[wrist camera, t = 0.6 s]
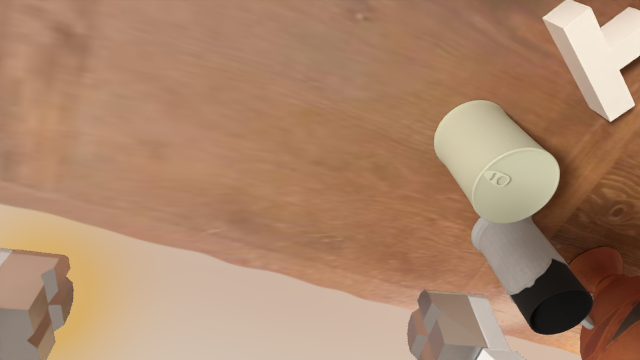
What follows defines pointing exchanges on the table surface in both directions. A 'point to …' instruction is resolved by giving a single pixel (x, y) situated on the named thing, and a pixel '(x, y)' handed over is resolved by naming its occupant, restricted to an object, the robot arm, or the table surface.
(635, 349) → the goblet
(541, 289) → the glass holder
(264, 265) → the table surface
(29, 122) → the table surface
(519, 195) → the can
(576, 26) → the T stop
